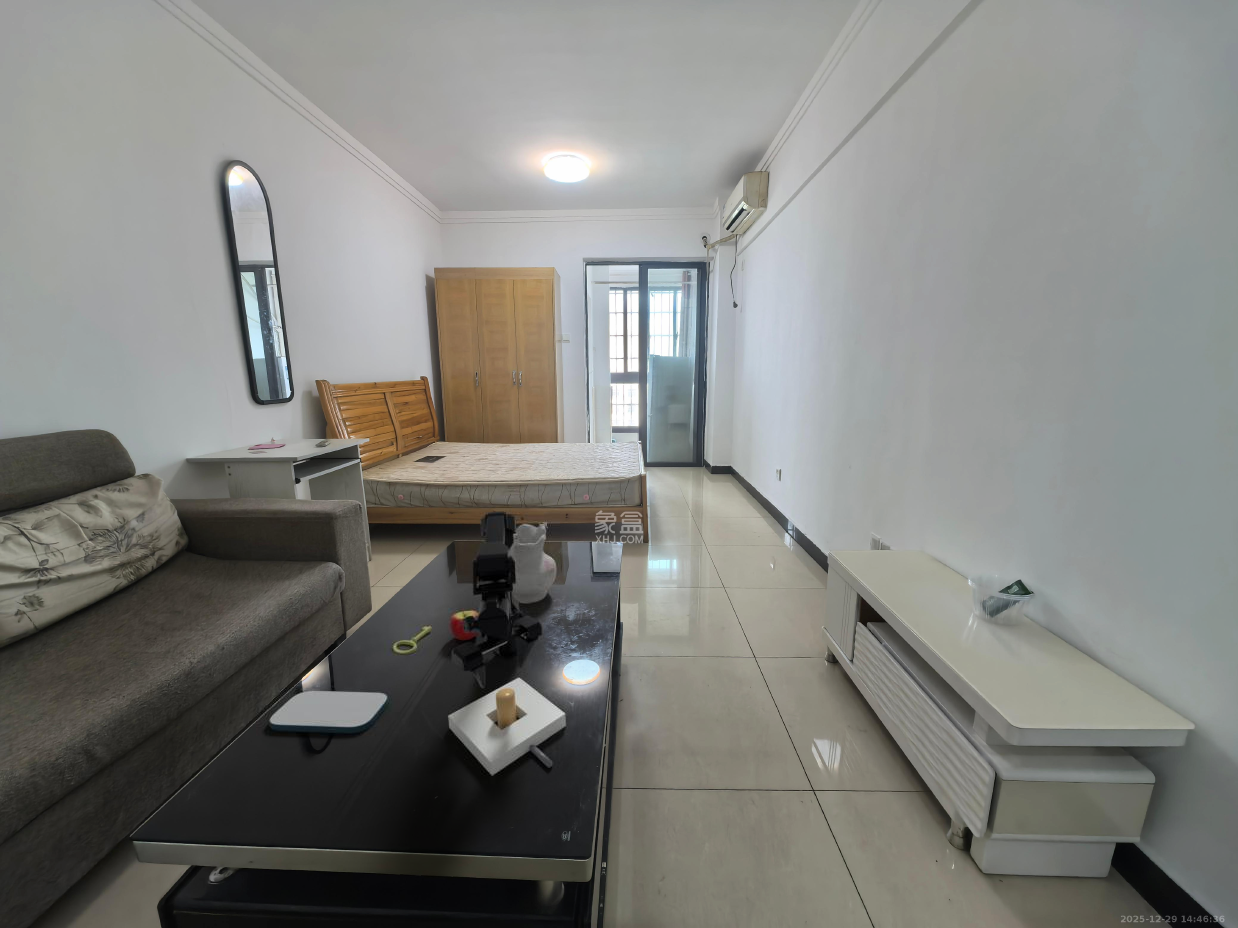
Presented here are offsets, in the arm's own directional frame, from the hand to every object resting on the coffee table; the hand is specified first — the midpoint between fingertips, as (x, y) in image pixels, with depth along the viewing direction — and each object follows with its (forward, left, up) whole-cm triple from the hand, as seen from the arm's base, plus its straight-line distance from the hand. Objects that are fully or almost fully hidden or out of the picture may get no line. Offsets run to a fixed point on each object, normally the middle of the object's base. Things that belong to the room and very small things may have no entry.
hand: (502, 676), depth 101 cm
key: (+1, -48, -13) cm, 50 cm away
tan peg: (0, +1, -12) cm, 12 cm away
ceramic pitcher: (-38, -47, -12) cm, 62 cm away
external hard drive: (+26, -32, -12) cm, 43 cm away
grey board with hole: (0, +4, -12) cm, 13 cm away
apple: (-11, -39, -12) cm, 43 cm away
